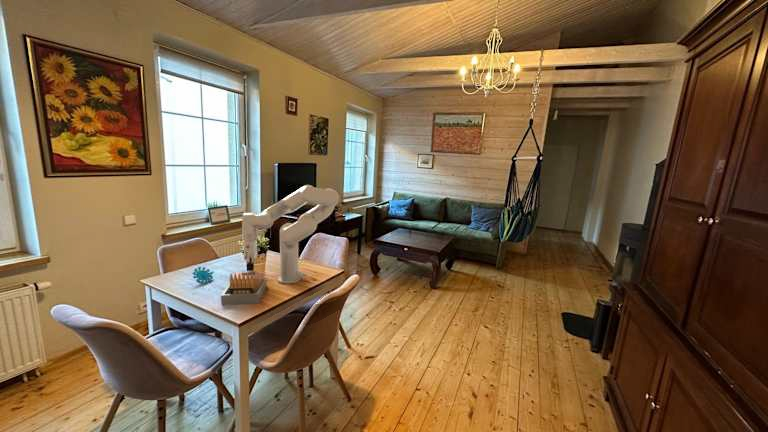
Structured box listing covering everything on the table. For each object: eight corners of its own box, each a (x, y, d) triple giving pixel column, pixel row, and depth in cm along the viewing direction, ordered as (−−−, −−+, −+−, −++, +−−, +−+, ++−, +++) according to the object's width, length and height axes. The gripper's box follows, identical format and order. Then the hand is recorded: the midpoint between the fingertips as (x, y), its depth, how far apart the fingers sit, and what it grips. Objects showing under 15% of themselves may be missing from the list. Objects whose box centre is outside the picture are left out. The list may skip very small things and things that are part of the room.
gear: (198, 284, 154) (190, 267, 156) (192, 290, 156) (184, 274, 158) (218, 279, 164) (210, 264, 166) (212, 285, 166) (205, 270, 168)
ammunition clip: (229, 299, 140) (228, 274, 138) (230, 297, 142) (229, 272, 140) (254, 298, 142) (253, 273, 140) (254, 296, 144) (254, 272, 142)
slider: (260, 289, 151) (259, 276, 149) (231, 290, 148) (230, 277, 147) (263, 282, 159) (263, 269, 158) (236, 283, 157) (235, 270, 155)
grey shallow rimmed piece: (259, 303, 141) (258, 293, 140) (221, 304, 138) (220, 295, 137) (266, 285, 160) (266, 277, 159) (233, 286, 157) (233, 278, 156)
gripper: (254, 240, 152) (254, 275, 155) (260, 233, 166) (260, 265, 170) (238, 240, 150) (239, 275, 154) (245, 233, 165) (245, 265, 168)
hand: (250, 270), depth 162 cm, fingers closed
